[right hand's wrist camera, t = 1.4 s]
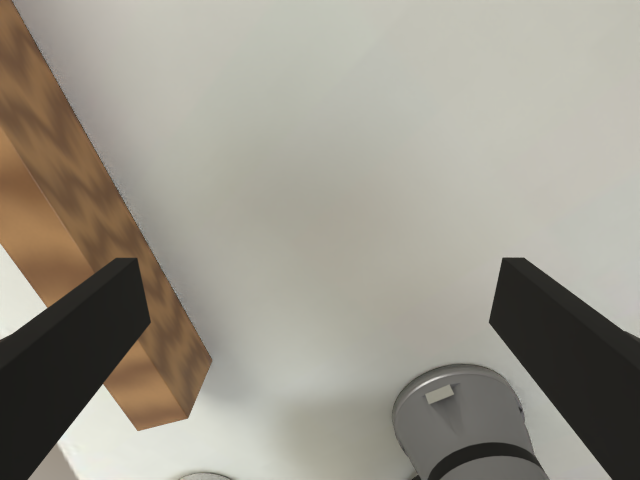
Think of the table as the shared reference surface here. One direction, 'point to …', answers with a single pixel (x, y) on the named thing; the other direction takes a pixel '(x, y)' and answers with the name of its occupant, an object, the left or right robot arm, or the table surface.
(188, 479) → the flag stand
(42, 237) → the post
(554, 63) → the table surface
